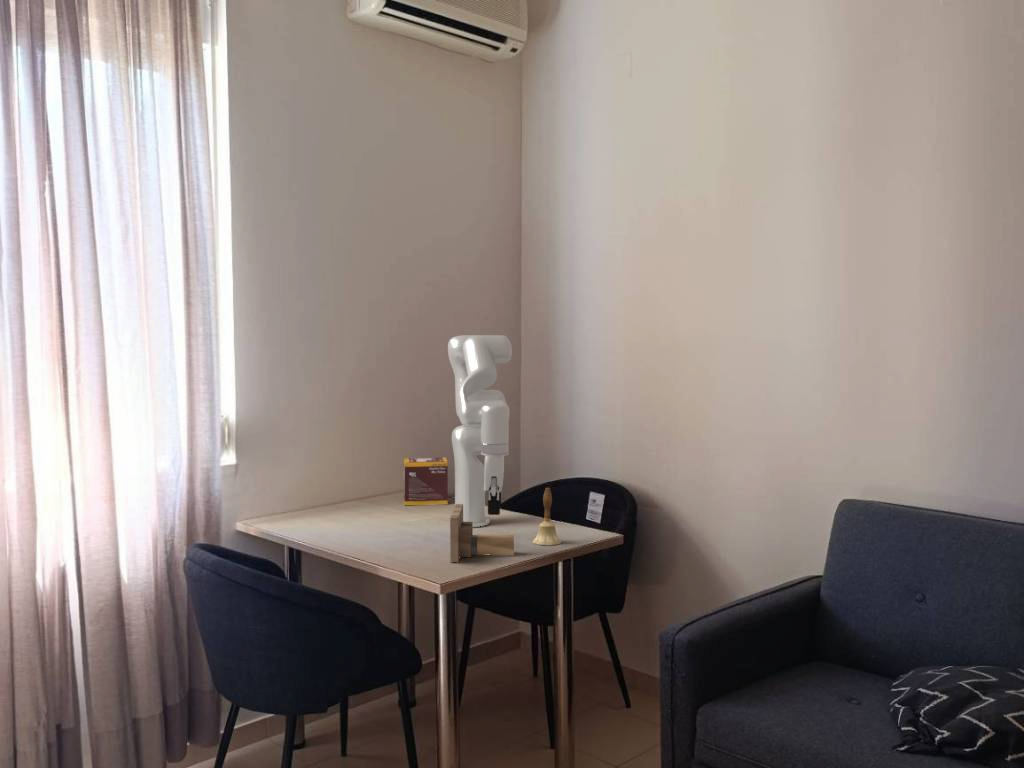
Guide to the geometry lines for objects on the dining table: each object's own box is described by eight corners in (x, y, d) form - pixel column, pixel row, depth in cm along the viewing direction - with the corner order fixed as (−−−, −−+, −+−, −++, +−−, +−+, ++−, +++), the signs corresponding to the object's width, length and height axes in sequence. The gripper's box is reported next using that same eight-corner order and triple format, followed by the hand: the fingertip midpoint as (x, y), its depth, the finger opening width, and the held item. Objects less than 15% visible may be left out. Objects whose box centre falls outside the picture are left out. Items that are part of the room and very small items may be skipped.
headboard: (456, 545, 269) (456, 503, 268) (473, 545, 269) (473, 503, 268) (450, 562, 249) (450, 517, 248) (469, 562, 249) (469, 518, 248)
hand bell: (541, 538, 278) (541, 484, 277) (566, 541, 274) (566, 487, 273) (527, 543, 271) (527, 489, 270) (552, 547, 267) (552, 491, 266)
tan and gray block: (463, 552, 261) (463, 534, 261) (513, 552, 260) (513, 534, 260) (462, 555, 257) (462, 537, 257) (513, 555, 257) (513, 537, 257)
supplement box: (448, 504, 332) (448, 460, 331) (404, 506, 330) (404, 461, 329) (446, 499, 342) (446, 457, 341) (403, 500, 340) (403, 457, 339)
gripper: (482, 443, 266) (482, 503, 268) (479, 454, 249) (479, 517, 250) (509, 444, 266) (508, 503, 267) (507, 454, 249) (507, 518, 250)
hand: (494, 510), depth 259 cm, fingers open, 9 cm apart
